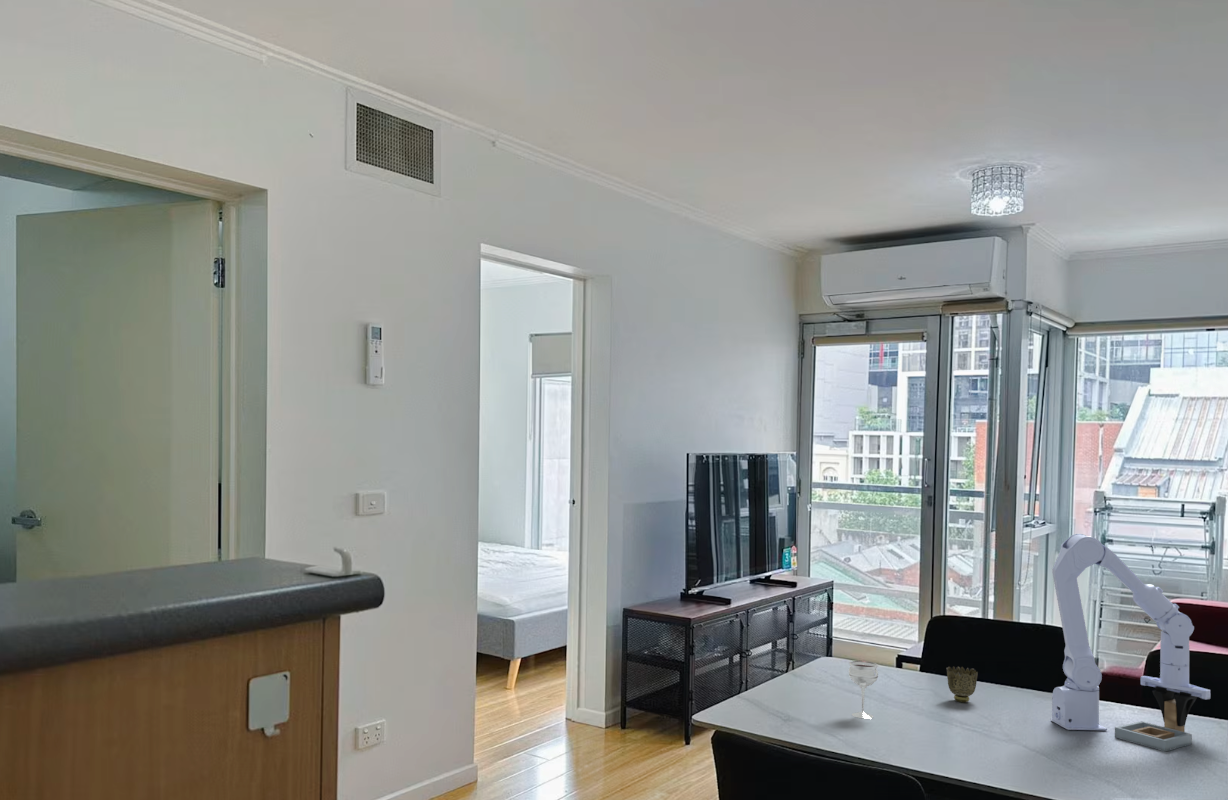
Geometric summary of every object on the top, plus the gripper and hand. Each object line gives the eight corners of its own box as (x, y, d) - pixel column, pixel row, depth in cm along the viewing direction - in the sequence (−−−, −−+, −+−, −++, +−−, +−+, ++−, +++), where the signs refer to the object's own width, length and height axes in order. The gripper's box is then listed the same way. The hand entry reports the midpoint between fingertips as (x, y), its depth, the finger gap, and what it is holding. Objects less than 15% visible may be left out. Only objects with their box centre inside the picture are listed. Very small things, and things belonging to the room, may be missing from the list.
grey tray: (1191, 744, 209) (1191, 734, 209) (1165, 751, 203) (1165, 740, 203) (1141, 730, 219) (1141, 721, 219) (1114, 737, 213) (1114, 727, 213)
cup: (979, 706, 236) (980, 673, 236) (948, 703, 237) (948, 671, 238) (974, 698, 243) (974, 667, 243) (944, 696, 244) (944, 664, 245)
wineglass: (845, 717, 222) (846, 665, 223) (849, 710, 228) (850, 659, 229) (875, 721, 219) (876, 668, 220) (879, 714, 226) (879, 662, 226)
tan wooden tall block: (1184, 733, 217) (1184, 701, 217) (1175, 735, 215) (1175, 703, 215) (1173, 730, 219) (1173, 699, 219) (1164, 732, 217) (1164, 701, 217)
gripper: (1217, 668, 214) (1217, 730, 213) (1151, 655, 226) (1151, 713, 225) (1201, 671, 210) (1201, 734, 209) (1135, 658, 222) (1135, 717, 221)
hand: (1174, 723), depth 217 cm, fingers closed on tan wooden tall block, 2 cm apart
